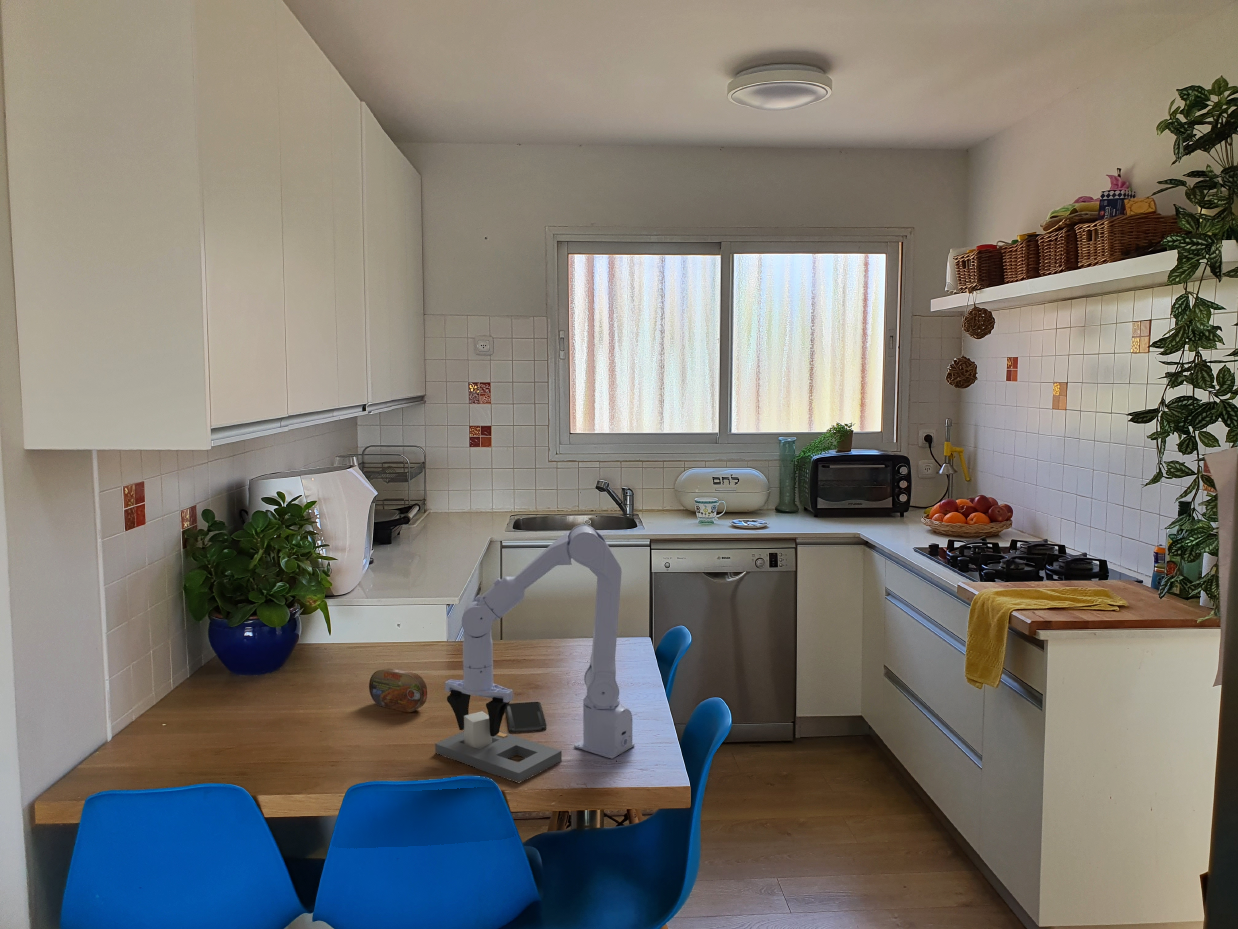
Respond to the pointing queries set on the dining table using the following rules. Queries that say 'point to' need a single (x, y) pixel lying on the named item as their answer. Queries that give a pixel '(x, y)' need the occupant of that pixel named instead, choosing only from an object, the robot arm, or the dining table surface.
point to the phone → (525, 717)
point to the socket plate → (501, 755)
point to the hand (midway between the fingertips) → (479, 731)
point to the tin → (398, 689)
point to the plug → (477, 730)
